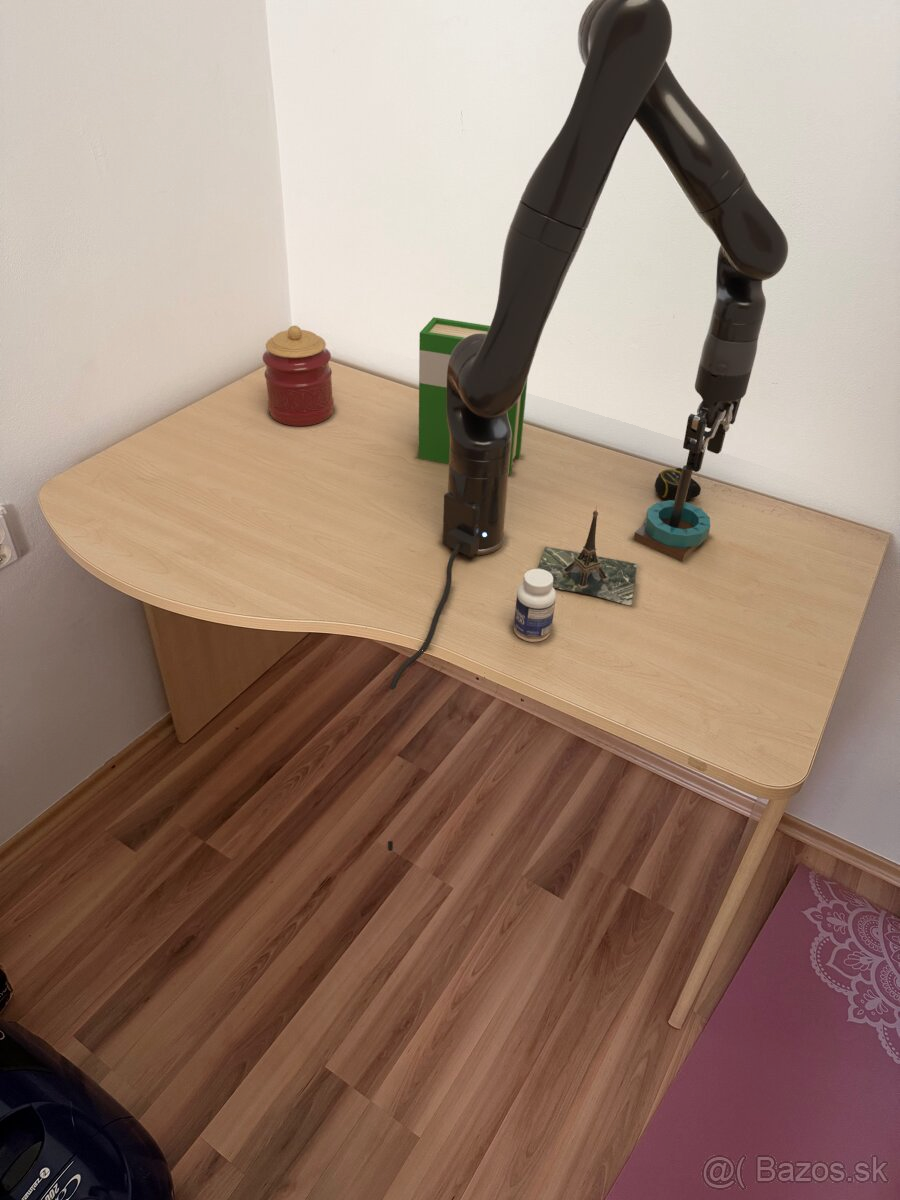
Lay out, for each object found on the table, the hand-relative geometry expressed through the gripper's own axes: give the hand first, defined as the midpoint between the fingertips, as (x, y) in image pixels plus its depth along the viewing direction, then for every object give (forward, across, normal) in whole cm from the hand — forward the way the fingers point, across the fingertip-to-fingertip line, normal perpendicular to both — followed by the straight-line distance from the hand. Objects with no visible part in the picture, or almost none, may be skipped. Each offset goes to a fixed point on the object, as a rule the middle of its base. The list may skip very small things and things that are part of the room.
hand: (703, 460), depth 134 cm
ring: (+11, +5, 0) cm, 12 cm away
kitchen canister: (+12, +17, -77) cm, 80 cm away
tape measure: (+13, -7, -6) cm, 16 cm away
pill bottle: (+12, +40, -4) cm, 42 cm away
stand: (+12, +6, 0) cm, 14 cm away
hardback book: (+12, +8, -41) cm, 44 cm away
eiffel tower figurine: (+12, +24, -5) cm, 27 cm away
